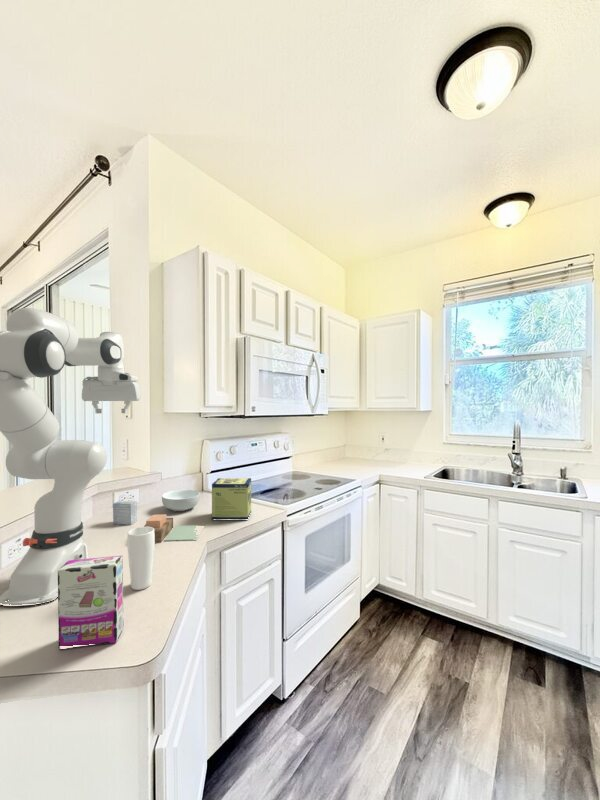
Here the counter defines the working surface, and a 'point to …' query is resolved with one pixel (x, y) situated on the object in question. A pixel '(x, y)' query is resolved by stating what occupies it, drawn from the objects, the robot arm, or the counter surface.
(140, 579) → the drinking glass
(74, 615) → the candy bar box
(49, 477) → the robot arm
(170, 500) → the cereal bowl
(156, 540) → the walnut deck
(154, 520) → the terracotta tile
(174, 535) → the sage mat
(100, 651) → the counter surface
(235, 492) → the protein box
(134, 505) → the medicine box
